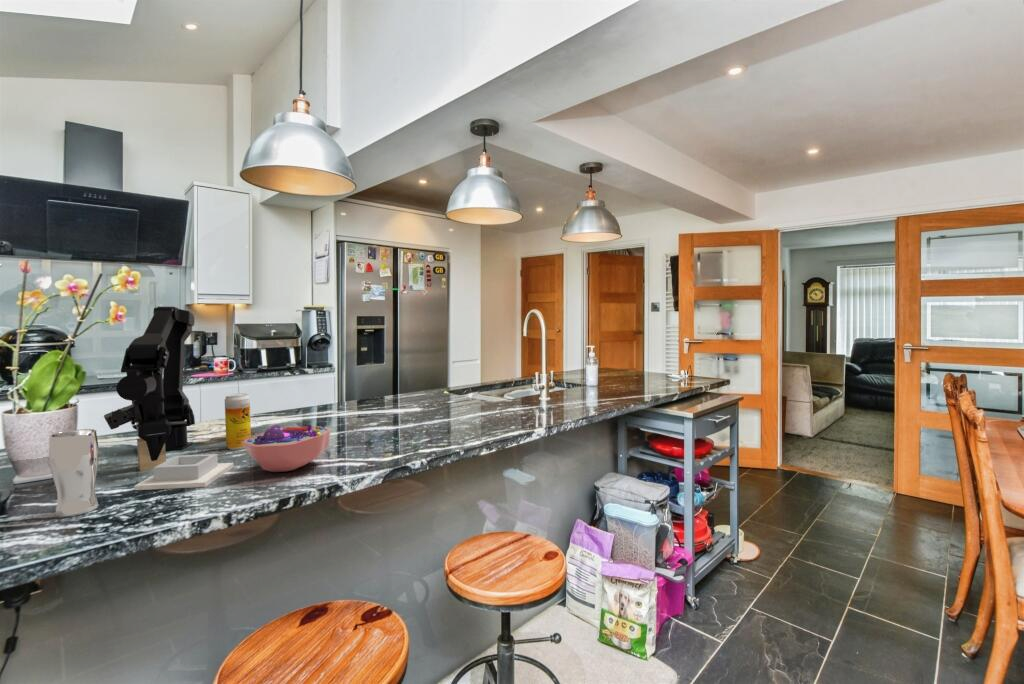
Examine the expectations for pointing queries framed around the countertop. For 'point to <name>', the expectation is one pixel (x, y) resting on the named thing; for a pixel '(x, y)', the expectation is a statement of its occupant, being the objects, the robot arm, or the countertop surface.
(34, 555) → the countertop surface
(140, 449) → the tan block
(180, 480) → the socket plate
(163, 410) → the robot arm
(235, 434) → the beer can
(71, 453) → the beer glass
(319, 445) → the cell model
